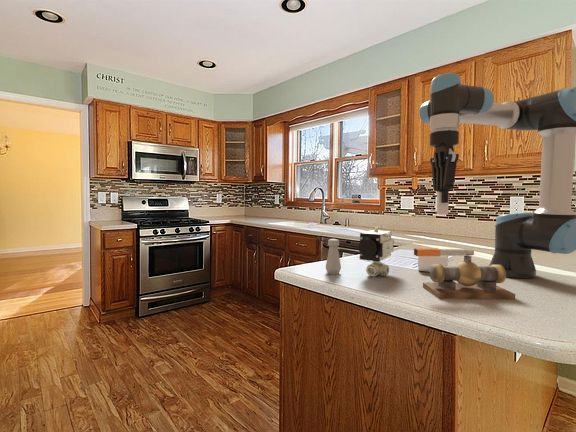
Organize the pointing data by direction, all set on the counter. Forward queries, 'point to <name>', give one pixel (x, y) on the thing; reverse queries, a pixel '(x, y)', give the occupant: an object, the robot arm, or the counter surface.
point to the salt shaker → (333, 258)
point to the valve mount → (468, 281)
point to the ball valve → (376, 250)
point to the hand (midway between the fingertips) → (442, 214)
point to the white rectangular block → (431, 262)
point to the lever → (442, 252)
